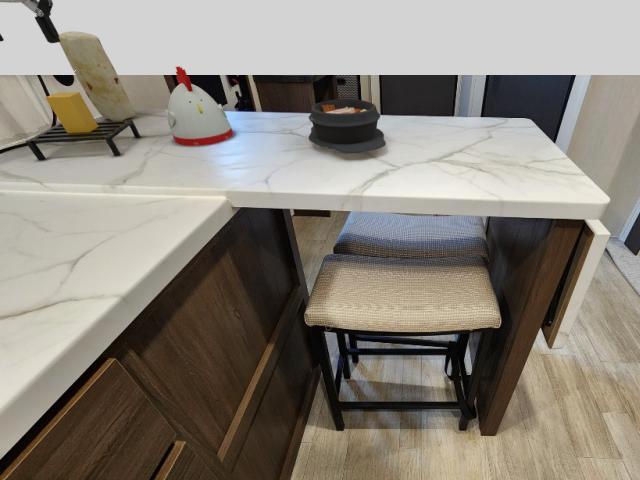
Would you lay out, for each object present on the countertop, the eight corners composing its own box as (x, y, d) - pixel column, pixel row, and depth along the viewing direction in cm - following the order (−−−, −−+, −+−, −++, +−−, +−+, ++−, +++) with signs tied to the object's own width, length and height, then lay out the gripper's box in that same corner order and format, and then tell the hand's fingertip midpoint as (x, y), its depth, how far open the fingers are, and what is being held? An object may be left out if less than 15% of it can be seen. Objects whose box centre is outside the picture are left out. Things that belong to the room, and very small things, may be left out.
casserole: (296, 135, 87) (289, 99, 81) (360, 125, 94) (357, 91, 88) (330, 167, 71) (325, 124, 65) (404, 152, 78) (405, 113, 72)
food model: (141, 115, 100) (101, 30, 86) (133, 121, 95) (89, 32, 81) (105, 116, 98) (58, 30, 85) (95, 123, 93) (44, 32, 80)
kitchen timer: (183, 149, 78) (152, 74, 68) (168, 135, 86) (137, 66, 75) (241, 138, 85) (220, 67, 75) (222, 126, 92) (200, 60, 82)
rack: (38, 160, 72) (24, 141, 70) (70, 140, 82) (59, 123, 80) (119, 155, 75) (108, 137, 72) (141, 136, 85) (132, 119, 82)
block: (67, 133, 74) (44, 97, 69) (77, 127, 77) (56, 92, 72) (89, 132, 75) (69, 96, 70) (98, 126, 78) (79, 92, 73)
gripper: (25, -83, 57) (85, 41, 69) (-98, -92, 54) (-13, 39, 66) (-4, -91, 52) (67, 44, 64) (-142, -101, 49) (-41, 43, 61)
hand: (26, 42), depth 65 cm, fingers open, 9 cm apart
